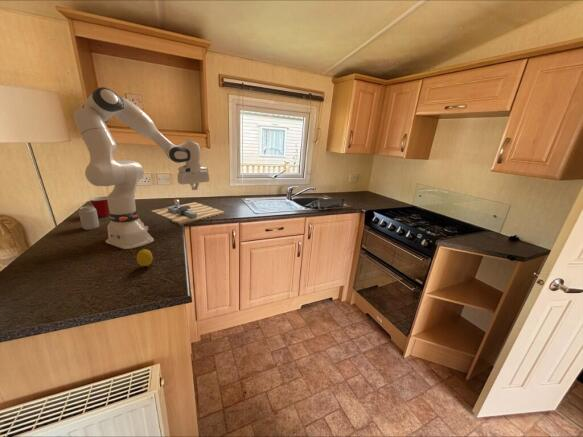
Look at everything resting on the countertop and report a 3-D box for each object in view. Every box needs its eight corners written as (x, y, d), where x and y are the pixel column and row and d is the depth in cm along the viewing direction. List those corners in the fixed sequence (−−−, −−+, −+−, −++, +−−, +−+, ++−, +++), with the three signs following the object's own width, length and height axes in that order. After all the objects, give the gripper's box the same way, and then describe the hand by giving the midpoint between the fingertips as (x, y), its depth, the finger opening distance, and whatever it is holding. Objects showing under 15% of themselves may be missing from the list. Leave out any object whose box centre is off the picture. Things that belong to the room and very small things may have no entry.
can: (79, 228, 132) (74, 207, 128) (93, 224, 139) (89, 204, 135) (88, 231, 130) (83, 209, 126) (102, 227, 136) (99, 206, 133)
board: (224, 213, 173) (224, 211, 173) (180, 225, 147) (179, 222, 146) (195, 204, 191) (195, 202, 191) (151, 212, 164) (151, 210, 164)
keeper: (190, 213, 163) (190, 206, 162) (181, 215, 158) (181, 208, 157) (187, 212, 166) (186, 205, 164) (178, 214, 160) (177, 207, 159)
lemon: (137, 270, 97) (134, 252, 94) (139, 264, 102) (136, 247, 99) (152, 268, 99) (150, 251, 96) (154, 262, 104) (152, 245, 101)
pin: (180, 211, 168) (180, 199, 165) (176, 211, 165) (175, 200, 163) (178, 210, 169) (177, 199, 167) (174, 211, 167) (173, 199, 164)
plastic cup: (104, 212, 159) (101, 194, 155) (118, 214, 157) (115, 196, 153) (88, 217, 149) (84, 198, 145) (102, 219, 147) (99, 200, 143)
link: (167, 210, 166) (167, 207, 165) (180, 208, 173) (180, 204, 172) (188, 218, 153) (188, 215, 152) (200, 215, 160) (200, 212, 159)
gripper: (205, 166, 160) (205, 187, 165) (175, 168, 144) (176, 190, 149) (211, 168, 157) (211, 188, 161) (181, 169, 141) (182, 192, 145)
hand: (194, 189), depth 155 cm, fingers closed
